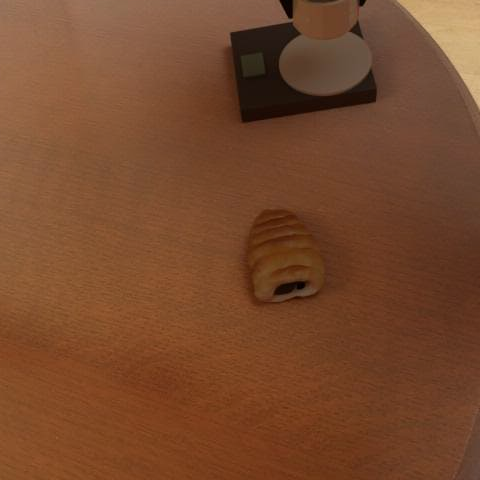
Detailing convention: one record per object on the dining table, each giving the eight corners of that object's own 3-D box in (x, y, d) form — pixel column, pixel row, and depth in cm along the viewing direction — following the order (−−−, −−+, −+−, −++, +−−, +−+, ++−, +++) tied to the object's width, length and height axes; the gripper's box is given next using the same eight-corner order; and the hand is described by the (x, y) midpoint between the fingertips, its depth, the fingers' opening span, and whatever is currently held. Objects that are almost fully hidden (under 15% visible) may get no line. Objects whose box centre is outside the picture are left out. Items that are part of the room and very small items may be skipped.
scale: (357, 23, 84) (358, 6, 82) (379, 101, 78) (380, 85, 76) (231, 45, 86) (229, 29, 84) (242, 122, 80) (239, 107, 78)
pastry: (238, 225, 72) (234, 203, 69) (307, 211, 72) (306, 187, 69) (257, 310, 67) (254, 289, 64) (332, 295, 67) (332, 273, 64)
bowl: (351, -7, 76) (353, -45, 72) (364, 36, 72) (365, -2, 68) (288, 4, 76) (286, -33, 73) (297, 47, 73) (295, 11, 69)
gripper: (216, -61, 57) (237, 84, 70) (469, -109, 55) (443, 50, 68) (206, -140, 63) (227, 6, 76) (433, -187, 61) (415, -28, 74)
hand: (324, 10), depth 73 cm, fingers closed on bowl, 6 cm apart
